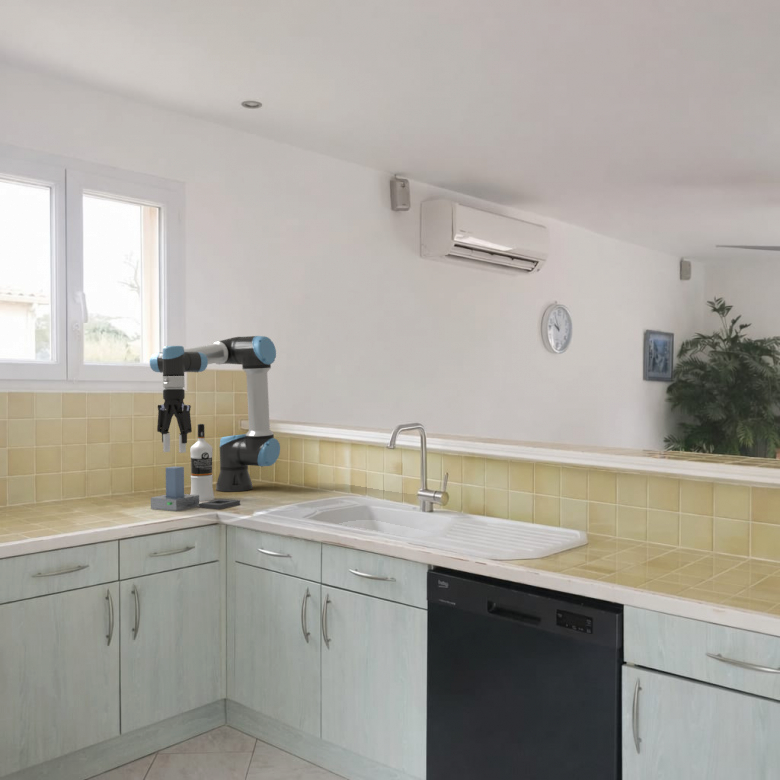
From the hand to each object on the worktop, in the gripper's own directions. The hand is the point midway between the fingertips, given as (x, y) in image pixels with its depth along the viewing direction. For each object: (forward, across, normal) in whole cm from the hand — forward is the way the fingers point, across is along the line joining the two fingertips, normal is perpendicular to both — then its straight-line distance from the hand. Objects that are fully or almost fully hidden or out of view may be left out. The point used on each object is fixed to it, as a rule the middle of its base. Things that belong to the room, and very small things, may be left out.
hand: (174, 452), depth 291 cm
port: (+21, 0, 0) cm, 21 cm away
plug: (+20, 0, 0) cm, 20 cm away
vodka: (+21, -4, +19) cm, 29 cm away
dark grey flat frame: (+21, +13, +9) cm, 26 cm away
